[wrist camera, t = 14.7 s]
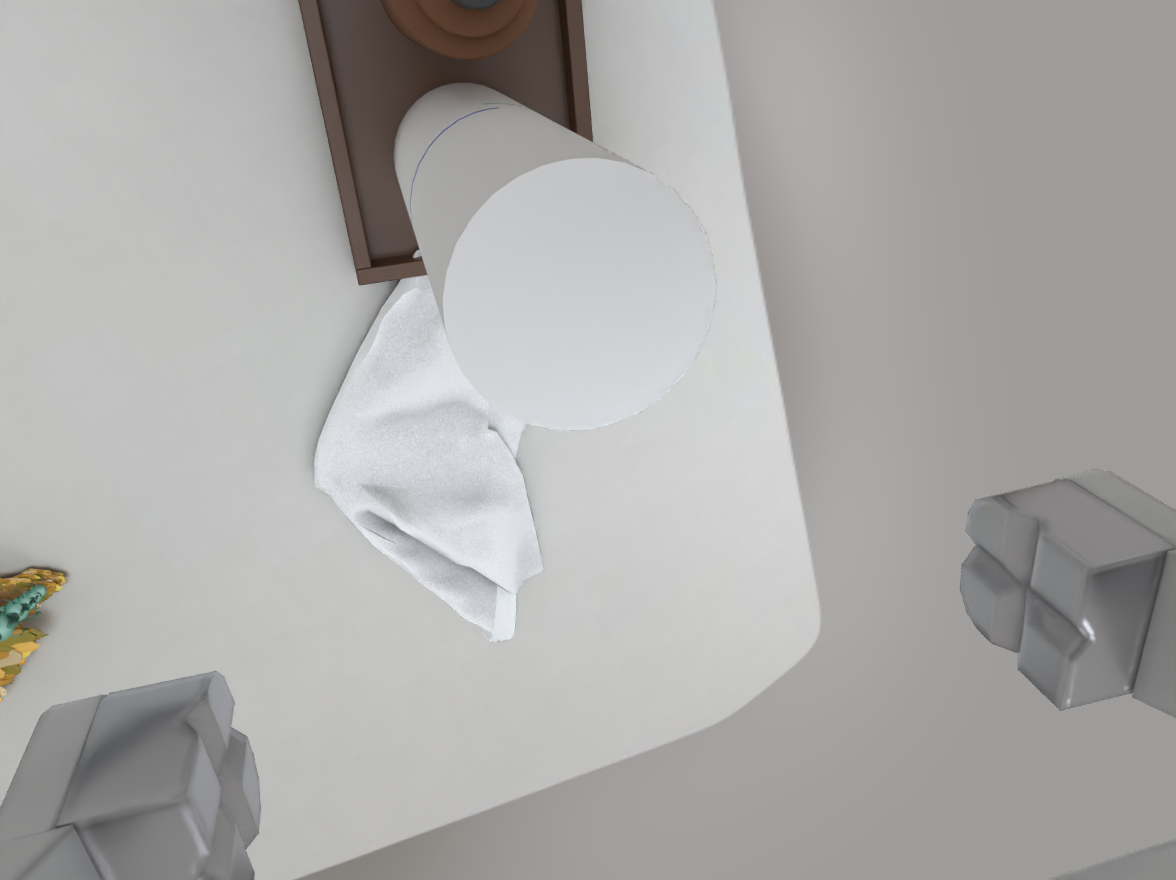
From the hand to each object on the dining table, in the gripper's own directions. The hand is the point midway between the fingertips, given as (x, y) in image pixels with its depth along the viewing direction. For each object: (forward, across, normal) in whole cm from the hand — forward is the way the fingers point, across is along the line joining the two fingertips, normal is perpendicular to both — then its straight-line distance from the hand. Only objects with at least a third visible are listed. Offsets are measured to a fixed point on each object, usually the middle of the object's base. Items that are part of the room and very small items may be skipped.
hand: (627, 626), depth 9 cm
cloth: (+39, +1, +18) cm, 43 cm away
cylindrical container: (+39, -3, +1) cm, 39 cm away
